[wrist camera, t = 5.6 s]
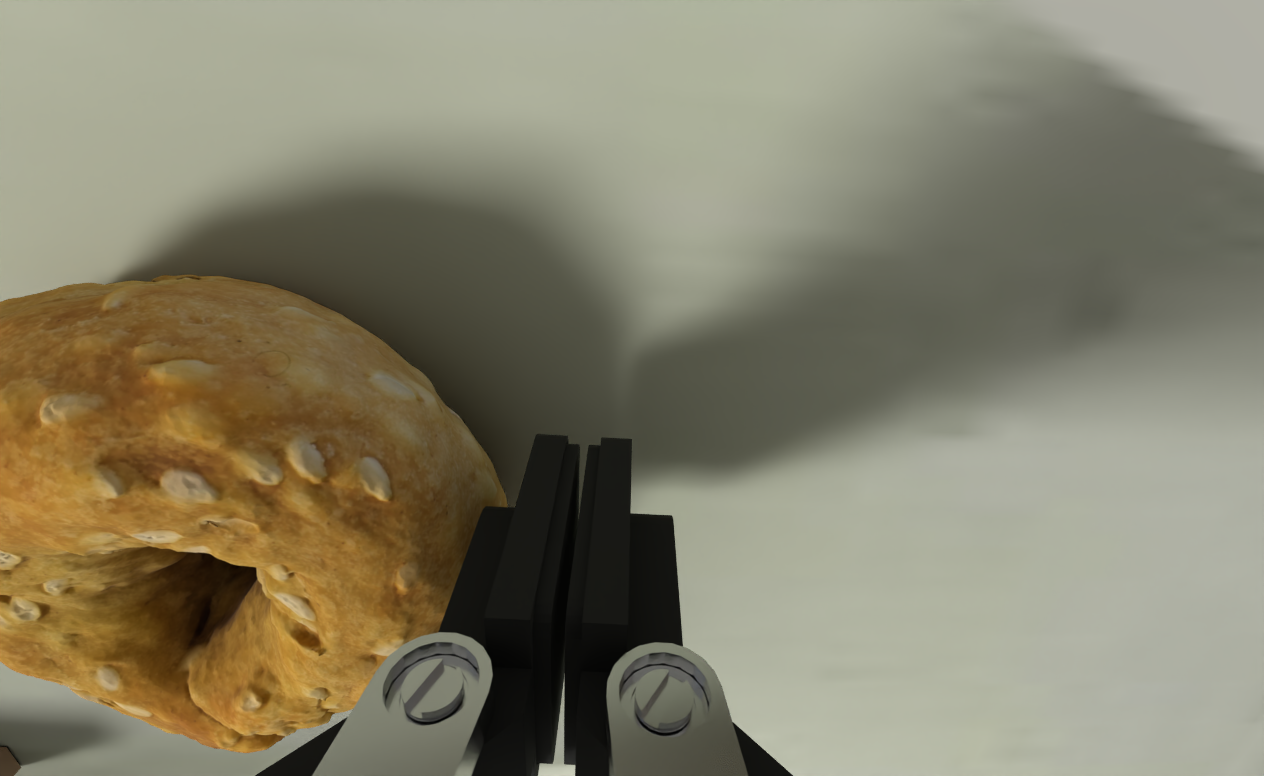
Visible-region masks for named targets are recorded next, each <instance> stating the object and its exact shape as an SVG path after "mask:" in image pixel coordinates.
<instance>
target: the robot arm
mask: <svg viewBox="0 0 1264 776" xmlns="http://www.w3.org/2000/svg"><path fill="white" fill-rule="evenodd" d="M631 457H632V439H620V438H601V446H598V445H589V447H588V454H587V461H586V469H585V476H584V483H583V491H582V498H581V506H580V513H579V458H580V447H579V444H569V443H568V436H564V435H545V434H537V435H536V437H535V440H534V444H533V447H532V451H531V454H530V458H529V461H528V465H527V468H526V472H525V475H524V479H523V482H522V486H521V489H520V493H519V496H518V500H517V503H516V507H515V508H513V507H493V506H486V507H485V508H483V510H482V512H481V515H480V517H479V520H478V523H477V526H476V528H475V531H474V534H473V537H472V539H471V542H470V545H469V548H468V551H467V553H466V556H465V559H464V562H463V565H462V567H461V570H460V573H459V576H458V578H457V581H456V584H455V587H454V590H453V592H452V595H451V598H450V601H449V603H448V606H447V609H446V612H445V615H444V617H443V620H442V623H441V626H440V629H439V631H438V633H434V634H429V635H424V636H420V637H418V638H416V639H414V640H412V641H410V642H407V643H405V644H403V645H402V646H401V647H400V648H398V649H397V650H396V651H394V652H393V653H392V654H390V655H389V656H388V657H387V658H386V660H385V661H384V662H383V663H382V665H381V666H380V667H379V668H378V670H377V671H376V672H375V674H374V676H373V677H372V679H371V681H370V682H369V684H368V685H367V687H366V689H365V690H364V692H363V694H362V695H361V697H360V698H359V700H358V702H357V703H356V705H355V707H354V708H353V710H352V711H351V713H350V715H349V716H348V717H347V718H345V719H344V720H342V721H341V722H339V723H338V724H336V725H334V726H333V727H331V728H330V729H328V730H326V731H325V732H323V733H322V734H320V735H319V736H317V737H315V738H314V739H312V740H311V741H309V742H307V743H306V744H304V745H303V746H301V747H300V748H298V749H296V750H295V751H293V752H292V753H290V754H288V755H287V756H285V757H284V758H282V759H281V760H279V761H277V762H276V763H274V764H273V765H271V766H270V767H268V768H266V769H265V770H263V771H262V772H260V773H258V774H257V775H255V776H538V770H539V763H547V764H553V760H554V753H555V746H556V738H557V730H558V722H559V714H560V705H561V697H562V689H563V681H564V673H565V710H564V764H569V765H576V767H575V776H793V775H792V774H791V773H789V772H788V771H787V770H786V769H785V768H784V767H783V766H782V765H780V764H779V763H778V762H777V761H776V760H775V759H774V758H773V757H771V756H770V755H769V754H768V753H767V752H766V751H765V750H764V749H762V748H761V747H760V746H759V745H758V744H757V743H756V742H755V741H753V740H752V739H751V738H750V737H749V736H748V735H747V734H746V733H744V732H743V731H742V730H741V729H740V728H739V727H738V726H737V725H735V724H734V723H733V722H732V719H731V716H730V712H729V709H728V706H727V702H726V699H725V695H724V692H723V689H722V686H721V684H720V682H719V679H718V677H717V675H716V673H715V671H714V670H713V669H712V668H711V667H710V665H709V664H708V663H707V662H706V661H705V660H704V659H703V658H702V657H701V656H699V655H697V654H696V653H694V652H693V651H691V650H690V649H688V648H685V647H683V642H682V629H681V616H680V602H679V589H678V576H677V563H676V549H675V536H674V524H673V517H672V516H670V515H650V514H630V505H631ZM578 515H579V520H578Z"/></svg>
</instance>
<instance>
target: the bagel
mask: <svg viewBox="0 0 1264 776" xmlns="http://www.w3.org/2000/svg"><path fill="white" fill-rule="evenodd" d="M486 506H493V507H507V499H506V495H505V493H504V491H503V488H502V486H501V484H500V482H499V479H498V477H497V475H496V472H495V469H494V467H493V464H492V462H491V460H490V459H489V457H488V456H487V454H486V453H485V451H484V450H483V448H482V447H481V446H480V444H479V443H478V442H477V441H476V439H475V437H474V436H473V435H472V433H471V432H470V430H469V429H468V427H467V426H466V425H465V424H464V422H463V421H462V419H461V418H460V417H459V416H458V415H457V414H456V413H455V412H454V411H452V410H451V409H450V408H449V407H447V406H446V405H445V404H444V403H443V401H442V400H441V399H440V397H439V396H438V394H437V393H436V391H435V389H434V386H433V385H432V383H431V382H430V380H429V379H428V378H427V377H426V376H425V375H424V374H423V373H422V372H421V371H420V370H418V369H417V368H415V367H413V366H412V365H410V364H409V363H408V362H407V361H406V360H404V359H403V358H402V357H401V356H400V355H399V354H398V353H396V352H395V351H394V350H393V349H392V348H390V347H389V346H388V345H387V344H386V343H385V342H383V341H382V340H381V339H379V338H378V337H376V336H375V335H373V334H371V333H370V332H368V331H367V330H365V329H364V328H362V327H361V326H359V325H357V324H355V323H354V322H352V321H351V320H349V319H348V318H346V317H345V316H343V315H341V314H340V313H337V312H335V311H333V310H331V309H329V308H327V307H324V306H322V305H320V304H318V303H315V302H313V301H311V300H310V299H308V298H305V297H303V296H301V295H298V294H296V293H293V292H290V291H287V290H284V289H280V288H277V287H275V286H272V285H269V284H263V283H257V282H251V281H245V280H239V279H233V278H228V277H223V276H196V275H179V276H169V275H162V276H159V277H157V278H154V279H152V281H150V282H145V281H136V280H134V281H124V282H117V283H110V284H107V285H102V284H96V283H82V284H73V285H66V286H63V287H59V288H57V289H54V290H50V291H45V292H42V293H38V294H33V295H28V296H24V297H20V298H12V299H8V300H5V301H2V302H0V661H1V662H2V663H3V664H5V665H6V666H7V667H9V668H10V669H12V670H14V671H16V672H19V673H22V674H25V675H28V676H34V677H36V678H41V679H44V680H47V681H52V682H56V683H58V684H60V685H65V686H67V687H69V688H70V689H71V690H72V691H73V692H74V693H76V694H77V695H79V696H80V697H82V698H84V699H86V700H90V701H94V702H96V703H99V704H103V705H106V706H108V707H111V708H113V709H115V710H117V711H119V712H121V713H122V714H126V715H129V716H132V717H134V718H138V719H141V720H143V721H145V722H147V723H149V724H150V725H152V726H155V727H157V728H160V729H161V730H163V731H165V732H167V733H172V734H183V735H185V736H187V737H189V738H190V739H194V740H197V741H198V742H199V743H201V744H203V745H206V746H209V747H212V748H216V749H217V748H219V749H226V750H230V751H235V752H243V753H250V752H256V751H261V750H266V749H268V748H269V747H271V746H272V745H274V744H275V743H276V742H278V741H280V740H282V739H283V738H284V737H285V736H288V735H290V734H291V733H295V732H296V730H297V729H301V728H311V727H316V726H319V725H322V724H325V723H328V722H329V721H330V719H331V716H332V714H335V713H339V712H345V711H348V710H351V709H353V708H354V707H355V705H356V703H357V702H358V700H359V698H360V697H361V695H362V694H363V692H364V690H365V689H366V687H367V685H368V684H369V682H370V681H371V679H372V677H373V676H374V674H375V672H376V671H377V670H378V668H379V667H380V666H381V665H382V663H383V662H384V661H385V660H386V658H387V657H388V656H389V655H390V654H392V653H393V652H394V651H396V650H397V649H398V648H400V647H401V646H402V645H403V644H405V643H407V642H410V641H412V640H414V639H416V638H418V637H420V636H424V635H429V634H434V633H438V631H439V629H440V626H441V623H442V620H443V617H444V615H445V612H446V609H447V606H448V603H449V601H450V598H451V595H452V592H453V590H454V587H455V584H456V581H457V578H458V576H459V573H460V570H461V567H462V565H463V562H464V559H465V556H466V553H467V551H468V548H469V545H470V542H471V539H472V537H473V534H474V531H475V528H476V526H477V523H478V520H479V517H480V515H481V512H482V510H483V508H485V507H486Z"/></svg>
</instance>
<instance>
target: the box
mask: <svg viewBox="0 0 1264 776" xmlns="http://www.w3.org/2000/svg"><path fill="white" fill-rule="evenodd" d="M20 768H21V767H20V765H19V764H18V762H17V761H16V760H15V758H14V757H13V756H12V754H11V753H10V751H9V750H8V749H7V747H0V776H14V775H15V774H16V773H17V772H18V770H19V769H20Z"/></svg>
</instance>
